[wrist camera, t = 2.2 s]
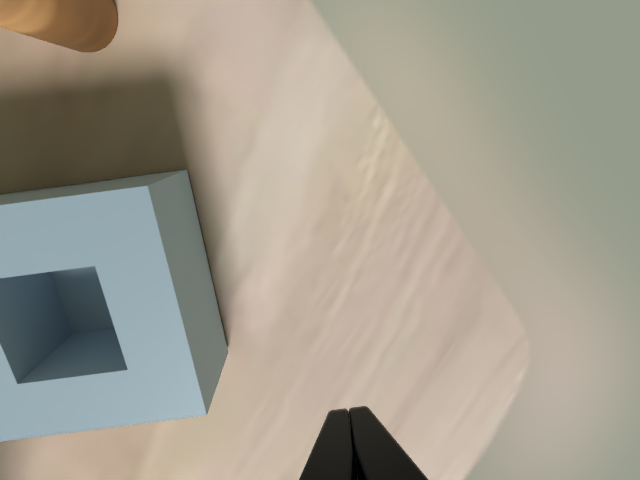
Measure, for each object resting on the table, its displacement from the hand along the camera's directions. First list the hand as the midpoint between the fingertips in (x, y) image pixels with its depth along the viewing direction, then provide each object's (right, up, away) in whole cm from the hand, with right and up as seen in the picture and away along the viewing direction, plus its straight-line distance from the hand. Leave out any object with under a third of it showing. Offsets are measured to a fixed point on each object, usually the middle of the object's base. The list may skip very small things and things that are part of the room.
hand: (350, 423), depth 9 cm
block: (-11, +2, +12) cm, 16 cm away
